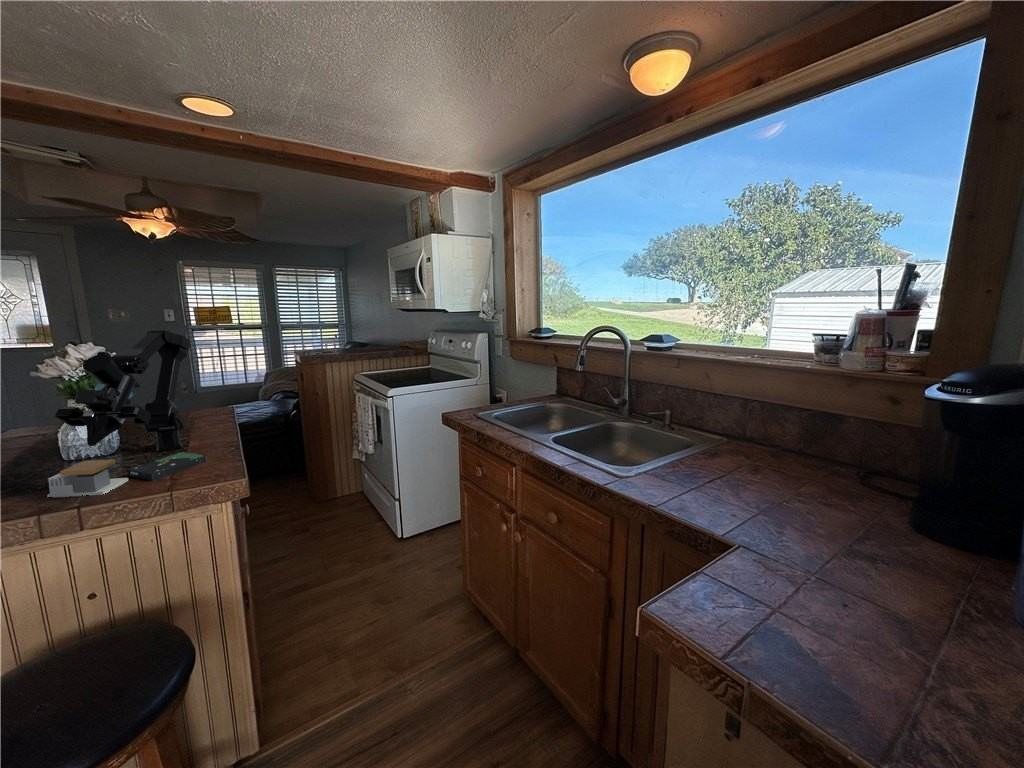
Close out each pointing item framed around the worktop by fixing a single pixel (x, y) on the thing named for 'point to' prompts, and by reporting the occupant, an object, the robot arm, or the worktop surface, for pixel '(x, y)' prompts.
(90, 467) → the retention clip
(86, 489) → the heat sink board
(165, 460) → the disk drive
